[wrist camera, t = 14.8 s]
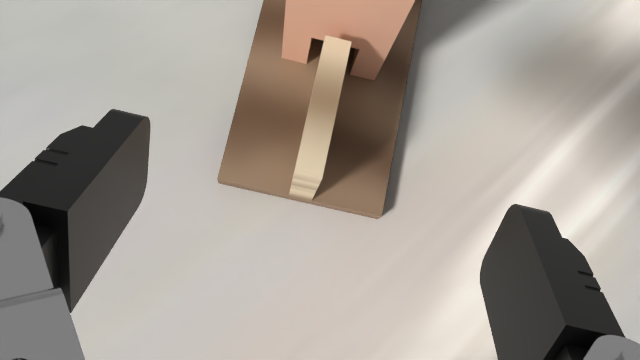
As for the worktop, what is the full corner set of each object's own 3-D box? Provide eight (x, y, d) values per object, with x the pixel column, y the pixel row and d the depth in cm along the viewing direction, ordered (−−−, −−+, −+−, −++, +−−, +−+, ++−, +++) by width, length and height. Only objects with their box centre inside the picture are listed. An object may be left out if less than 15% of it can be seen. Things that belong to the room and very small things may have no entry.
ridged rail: (377, 219, 34) (407, 198, 27) (218, 183, 34) (207, 152, 27) (429, -58, 39) (465, -136, 32) (290, -93, 38) (296, -180, 31)
